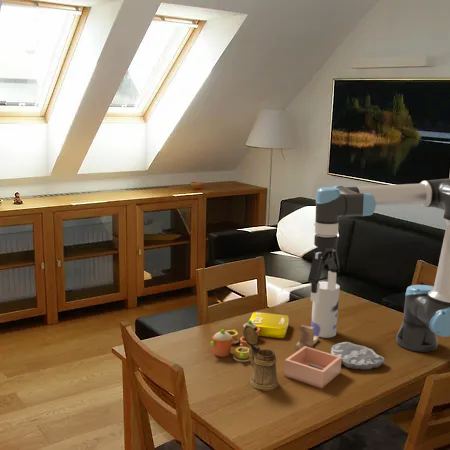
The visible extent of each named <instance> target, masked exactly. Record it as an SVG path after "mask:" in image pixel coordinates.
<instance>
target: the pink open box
mask: <svg viewBox="0 0 450 450" xmlns="http://www.w3.org/2000/svg"><path fill="white" fill-rule="evenodd" d="M341 360H342V357H340V356H336V355H333V354H331V352H326V351H322V350H320V349H316V348H314V347H313V348H310V347H306V346H304V347H303V348H301V349H300V350H299V349H297V351H296V352H294V353H293V354H291V355H290V356H289V357H287V358H285V359H284V371H283V372H284V373H283V376H284V377H286V378H289V379H292V380H295V381H298V382H302V383H305V384H308V385H310V386H312V387H317V388H319V389H323V388H325V386H327V385H328V384H329V383H331V381H333V380H334V379H335V378H336V377H337V376H338V375H340V374H341V371H342V370H341V368H342V364H341Z"/></svg>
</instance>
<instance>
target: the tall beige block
mask: <svg viewBox="0 0 450 450" xmlns="http://www.w3.org/2000/svg"><path fill="white" fill-rule="evenodd" d="M314 336H315V335H314V327H311V325H310V326H309V325H307V324H301V325H300V327H299V340H298V342H299V349H298V350H300V349H301V348H303V347H304V346H306V347H310V348H313V349H314V345H313V339H314Z"/></svg>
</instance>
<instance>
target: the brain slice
mask: <svg viewBox="0 0 450 450" xmlns="http://www.w3.org/2000/svg"><path fill="white" fill-rule="evenodd" d="M330 354H333V355H336V356H340V357H342V360H341V365H344V367H346V368H349V369H353V370H372V369H373V368H379V367H380V366H382V365H383V364H384V363H385V362H386V358H385V357H383V356H382V355H379V354H377V353H376V352H375V351H374V350H373V349H372V348H369V347H367V346H365V345H360V344H355V343H353V342H350V341H343V342H339V343H335V344H333V345H331V348H330Z"/></svg>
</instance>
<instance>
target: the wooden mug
mask: <svg viewBox="0 0 450 450" xmlns="http://www.w3.org/2000/svg"><path fill="white" fill-rule="evenodd" d="M242 337H244V339H245V341H246V342H247V343H248V344H249V345H250V346H251V347H250V349H249V359H250V361H249V362H250V364H251V367H252V373H251V376H250V379H249V385H250V386H251V387H252V388H255V389H257V390H258V391H259V390H260V391H273V390H275V389H277V388H278V387H279V381H278V372H277V364H276V363H277V357H276V352H275V351H273V350H271V349H261V348H260V347H259V345H258V342H259V336H258V335H257V333H256V331H255V330H254V329H253V328H252V327H251V326H248V325H246V326H245V328H244V327H243V332H242Z"/></svg>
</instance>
